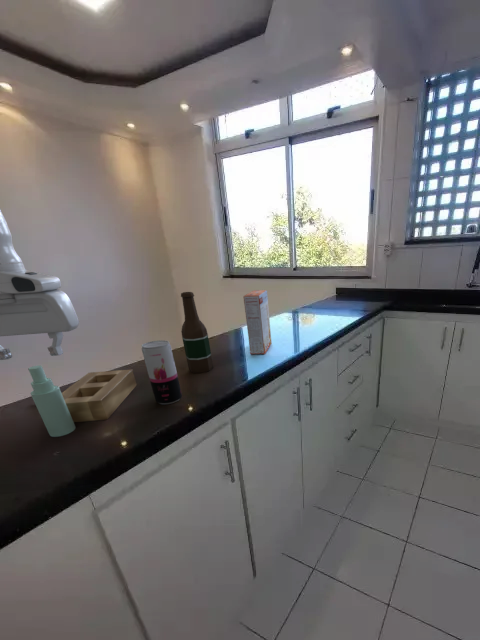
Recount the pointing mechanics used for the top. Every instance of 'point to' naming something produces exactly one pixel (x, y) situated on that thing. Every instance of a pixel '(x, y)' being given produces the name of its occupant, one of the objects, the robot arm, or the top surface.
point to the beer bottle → (195, 337)
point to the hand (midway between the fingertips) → (31, 356)
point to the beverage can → (162, 371)
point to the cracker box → (258, 321)
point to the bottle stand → (98, 394)
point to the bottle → (50, 404)
